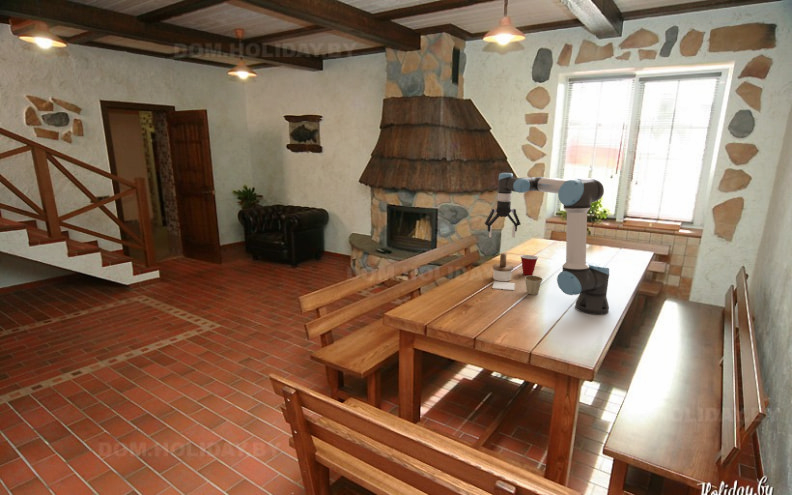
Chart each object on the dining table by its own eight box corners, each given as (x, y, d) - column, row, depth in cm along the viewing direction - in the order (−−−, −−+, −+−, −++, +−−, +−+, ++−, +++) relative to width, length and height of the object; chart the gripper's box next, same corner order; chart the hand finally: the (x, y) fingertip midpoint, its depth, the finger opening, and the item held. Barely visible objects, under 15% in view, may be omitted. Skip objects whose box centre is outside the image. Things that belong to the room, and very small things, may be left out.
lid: (513, 266, 257) (514, 252, 254) (512, 272, 246) (513, 257, 243) (493, 265, 260) (494, 250, 258) (491, 270, 249) (492, 255, 247)
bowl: (511, 277, 258) (511, 266, 256) (510, 282, 248) (511, 271, 247) (494, 275, 261) (494, 265, 259) (492, 280, 251) (493, 270, 250)
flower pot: (544, 292, 230) (545, 278, 228) (536, 297, 224) (538, 282, 221) (528, 289, 236) (529, 274, 234) (520, 293, 230) (521, 278, 228)
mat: (515, 284, 245) (515, 283, 245) (514, 290, 234) (514, 289, 234) (494, 282, 248) (494, 281, 248) (492, 288, 237) (492, 287, 237)
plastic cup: (539, 273, 264) (540, 255, 262) (534, 278, 256) (535, 259, 253) (522, 270, 270) (523, 253, 267) (516, 275, 262) (518, 256, 259)
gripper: (523, 199, 240) (521, 235, 245) (480, 199, 240) (478, 235, 245) (528, 201, 233) (525, 238, 238) (483, 201, 232) (481, 238, 238)
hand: (501, 237), depth 241 cm, fingers open, 13 cm apart
